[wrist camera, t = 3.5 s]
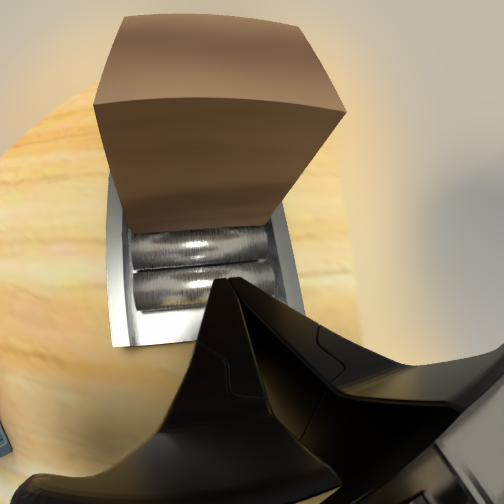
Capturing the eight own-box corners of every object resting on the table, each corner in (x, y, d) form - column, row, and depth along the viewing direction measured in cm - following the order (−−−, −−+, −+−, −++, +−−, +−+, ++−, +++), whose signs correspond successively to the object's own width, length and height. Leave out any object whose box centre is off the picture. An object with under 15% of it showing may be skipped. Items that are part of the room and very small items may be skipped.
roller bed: (287, 326, 16) (344, 313, 10) (123, 346, 13) (89, 347, 8) (242, 100, 20) (262, 40, 15) (127, 102, 18) (122, 38, 12)
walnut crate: (264, 224, 14) (346, 112, 7) (131, 234, 12) (93, 104, 5) (248, 144, 16) (298, 26, 8) (133, 148, 14) (124, 16, 6)
